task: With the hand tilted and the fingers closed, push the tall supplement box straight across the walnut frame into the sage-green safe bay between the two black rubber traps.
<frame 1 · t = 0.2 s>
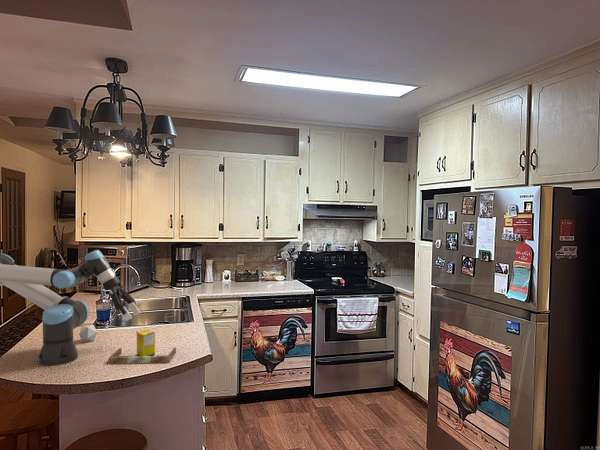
hand: (133, 316, 196), 16 cm above the counter, tool tilted 35°, fingers open, 13 cm apart
die: (88, 341, 209), on the counter
supplement box: (145, 356, 188), on the counter
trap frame: (143, 357, 185), on the counter
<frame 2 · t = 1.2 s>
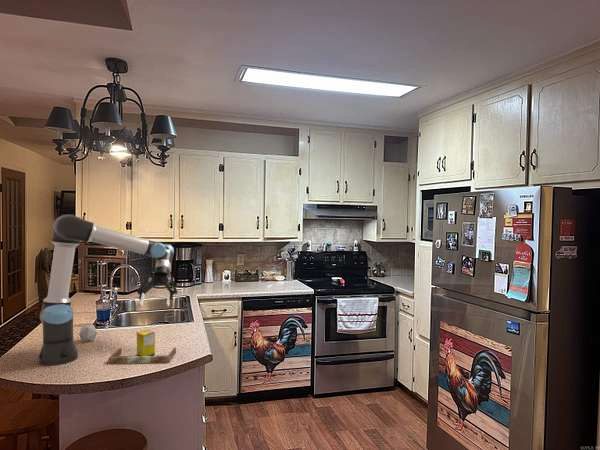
hand: (154, 305, 201), 20 cm above the counter, tool tilted 45°, fingers open, 12 cm apart
nothing on the counter moved.
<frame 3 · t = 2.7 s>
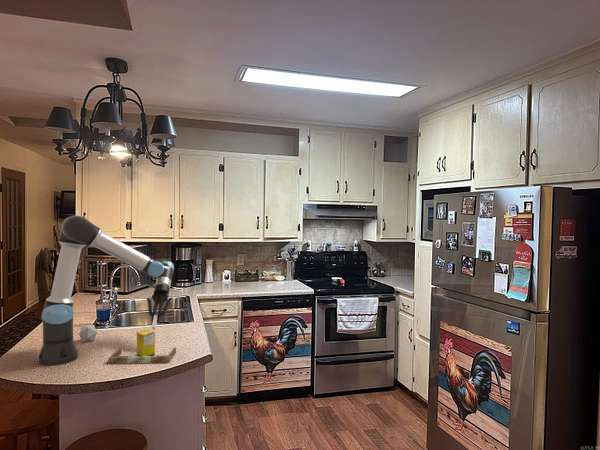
hand: (153, 328, 198), 10 cm above the counter, tool tilted 45°, fingers closed
nothing on the counter moved.
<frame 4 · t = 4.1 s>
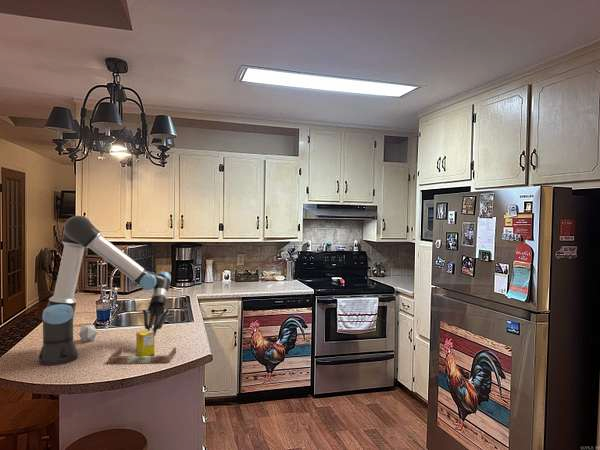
hand: (149, 341, 192), 5 cm above the counter, tool tilted 45°, fingers closed
supplement box: (145, 356, 187), on the counter, touching gripper
everything else where it was.
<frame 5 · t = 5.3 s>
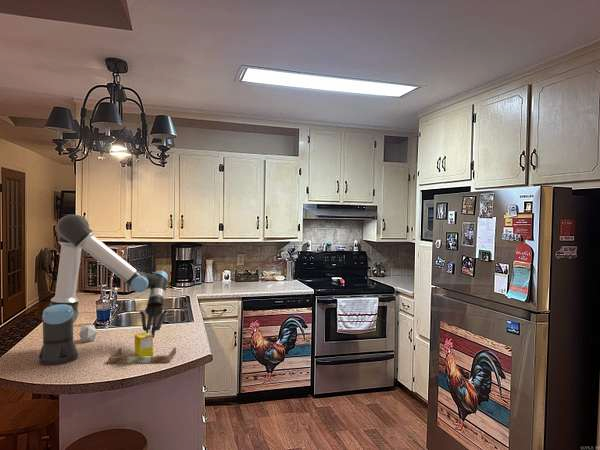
hand: (148, 343, 189), 5 cm above the counter, tool tilted 45°, fingers closed
supplement box: (143, 359, 184), on the counter, touching gripper, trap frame
everything else where it was.
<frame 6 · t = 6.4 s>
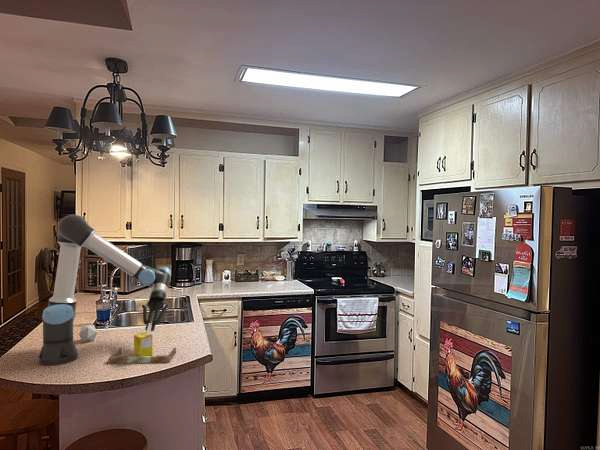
hand: (147, 336, 191), 8 cm above the counter, tool tilted 45°, fingers closed
supplement box: (143, 359, 184), on the counter
everything else where it was.
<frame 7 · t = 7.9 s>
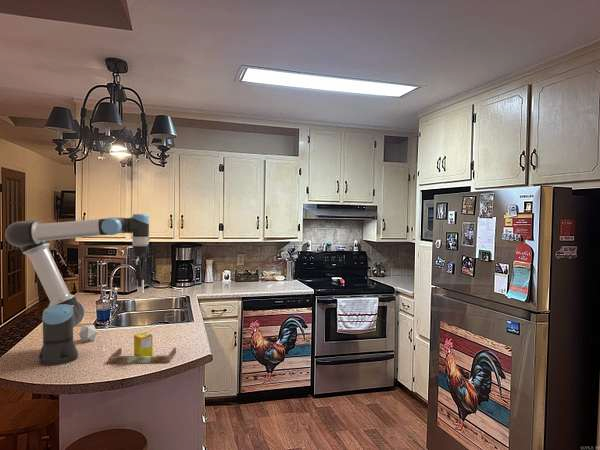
hand: (140, 292, 202), 26 cm above the counter, tool pointing down, fingers closed
nothing on the counter moved.
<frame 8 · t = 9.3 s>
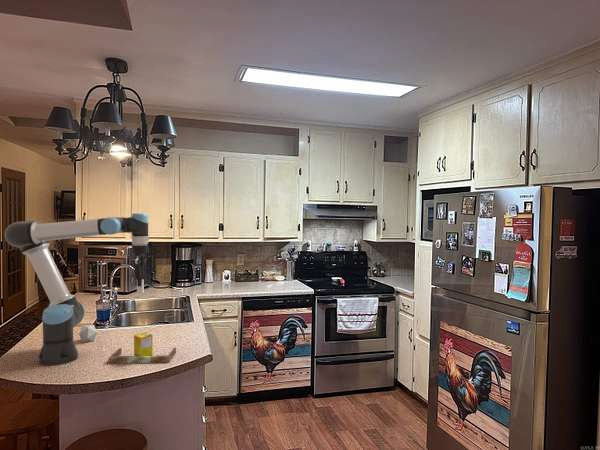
hand: (140, 292, 201), 26 cm above the counter, tool pointing down, fingers closed
nothing on the counter moved.
at the end: supplement box 0.9 cm from the target spot, on the counter; supplement box tilted 0° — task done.
